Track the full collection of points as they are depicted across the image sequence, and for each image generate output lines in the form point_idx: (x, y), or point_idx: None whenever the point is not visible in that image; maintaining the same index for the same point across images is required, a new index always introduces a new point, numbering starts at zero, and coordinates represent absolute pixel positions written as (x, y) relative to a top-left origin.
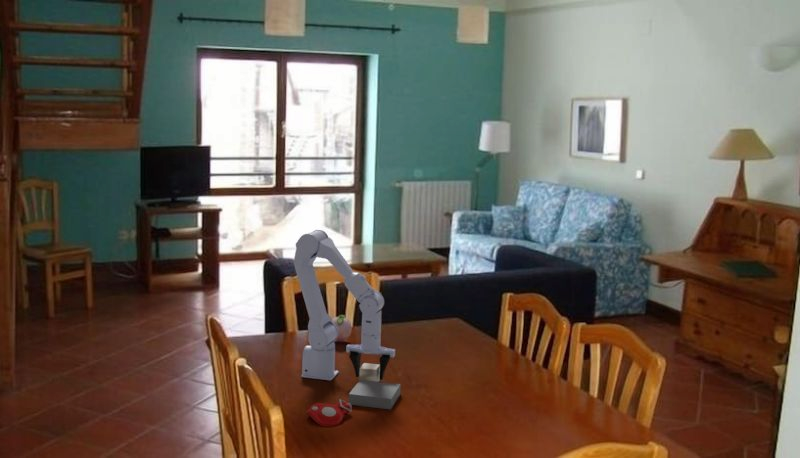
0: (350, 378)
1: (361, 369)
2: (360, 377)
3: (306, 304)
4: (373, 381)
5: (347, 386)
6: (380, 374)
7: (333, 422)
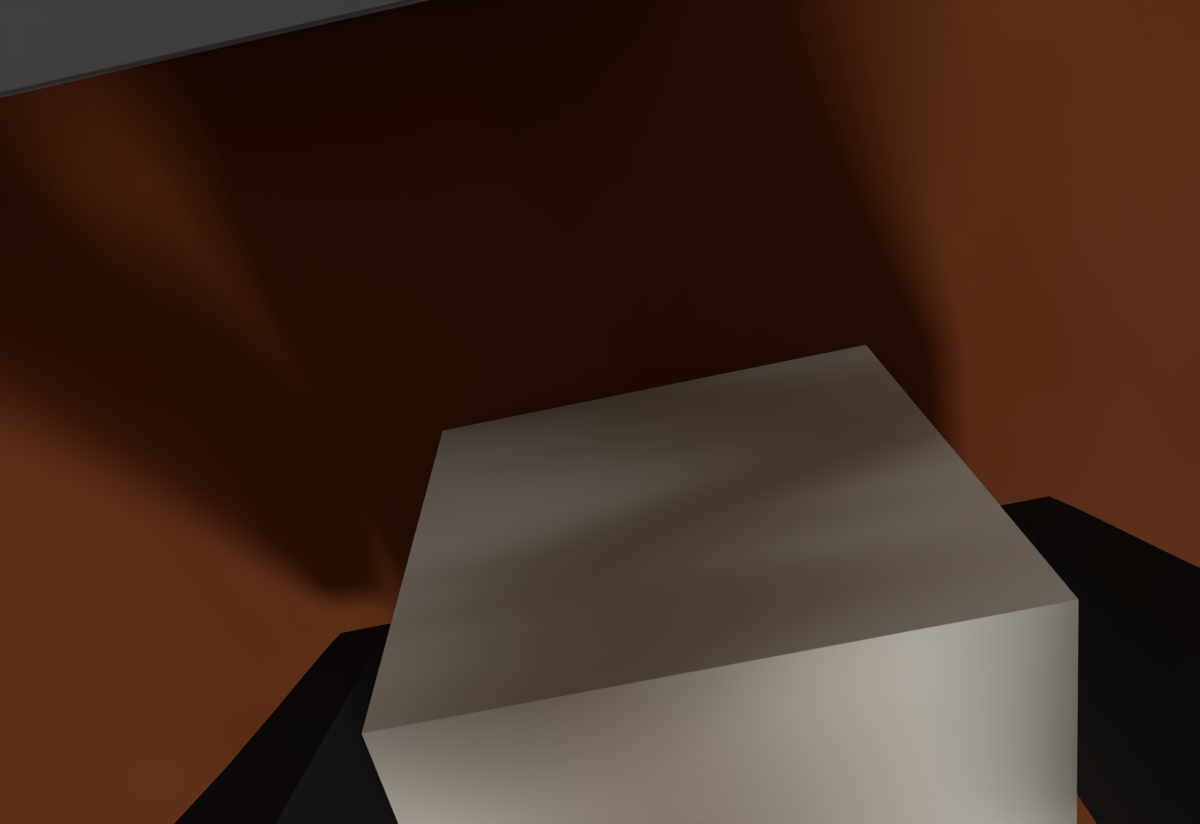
0: (1178, 553)
1: (971, 581)
2: (892, 429)
3: None
4: (134, 29)
5: (1105, 5)
6: (312, 714)
7: None
